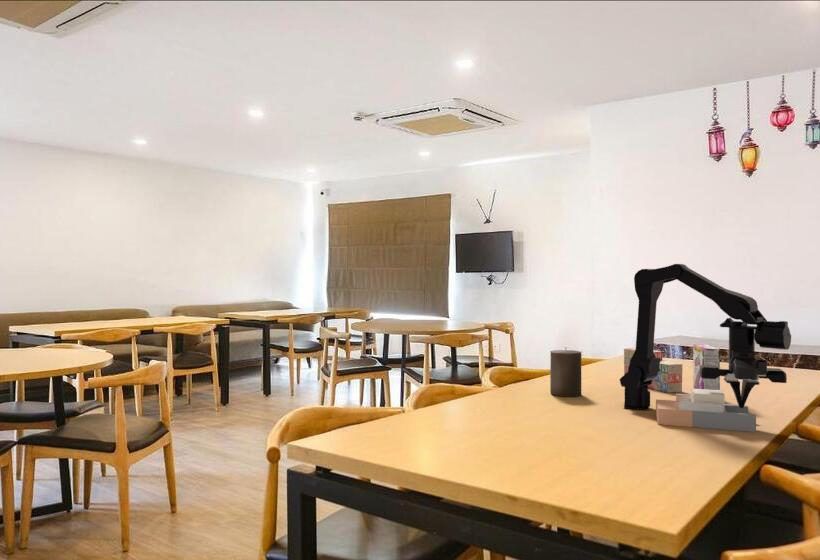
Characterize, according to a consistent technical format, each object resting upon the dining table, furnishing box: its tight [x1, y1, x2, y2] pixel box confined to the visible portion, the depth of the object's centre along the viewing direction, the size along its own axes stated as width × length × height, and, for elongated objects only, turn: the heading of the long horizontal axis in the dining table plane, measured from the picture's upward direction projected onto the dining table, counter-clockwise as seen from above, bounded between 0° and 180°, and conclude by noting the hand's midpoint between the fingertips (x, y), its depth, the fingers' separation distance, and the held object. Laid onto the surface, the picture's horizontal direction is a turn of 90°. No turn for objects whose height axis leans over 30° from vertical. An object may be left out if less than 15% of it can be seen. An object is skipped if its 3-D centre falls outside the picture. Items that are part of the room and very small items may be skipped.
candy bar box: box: [692, 344, 721, 390], centre depth 182 cm, size 11×5×16 cm, turn 168°
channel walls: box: [675, 393, 724, 413], centre depth 155 cm, size 10×11×2 cm
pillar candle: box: [549, 347, 582, 398], centre depth 191 cm, size 10×10×15 cm
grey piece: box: [655, 399, 757, 433], centre depth 154 cm, size 22×12×4 cm, turn 70°
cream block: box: [690, 388, 726, 411], centre depth 154 cm, size 7×7×4 cm
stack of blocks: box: [623, 347, 683, 394], centre depth 204 cm, size 21×6×12 cm, turn 19°
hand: (741, 407), depth 151 cm, fingers closed
